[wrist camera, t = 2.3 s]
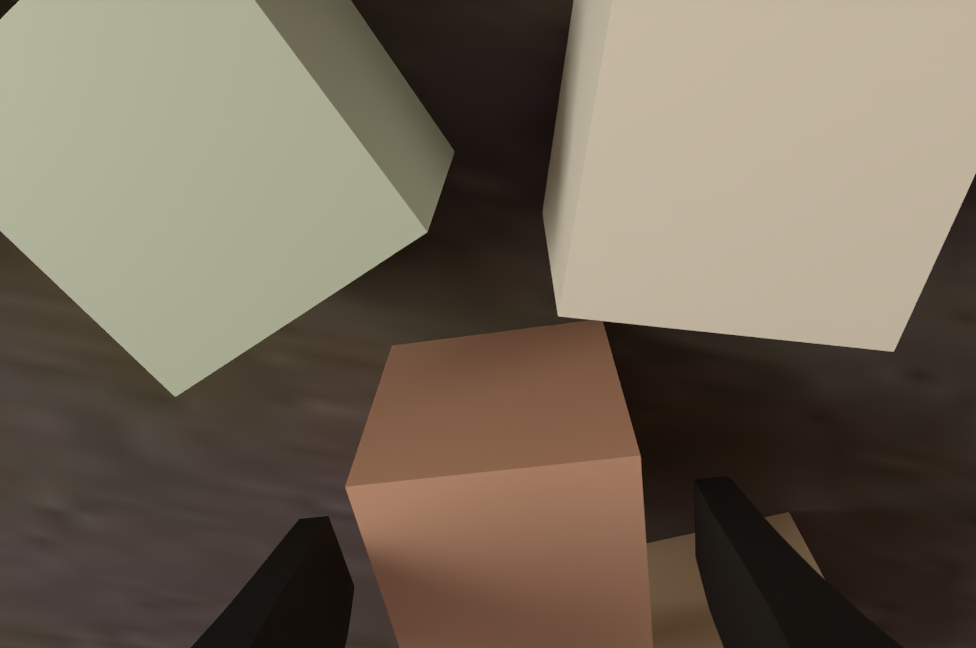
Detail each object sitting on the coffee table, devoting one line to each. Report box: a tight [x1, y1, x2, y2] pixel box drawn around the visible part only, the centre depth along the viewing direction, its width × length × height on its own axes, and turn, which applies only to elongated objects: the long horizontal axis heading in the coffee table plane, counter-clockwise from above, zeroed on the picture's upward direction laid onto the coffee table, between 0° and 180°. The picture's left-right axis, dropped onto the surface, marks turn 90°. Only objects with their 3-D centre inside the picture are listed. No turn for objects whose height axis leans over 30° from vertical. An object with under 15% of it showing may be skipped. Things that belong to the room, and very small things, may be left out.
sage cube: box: [0, 0, 455, 397], centre depth 11 cm, size 5×5×5 cm
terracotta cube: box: [345, 320, 653, 648], centre depth 14 cm, size 5×5×5 cm
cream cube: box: [542, 0, 976, 352], centre depth 10 cm, size 5×5×5 cm
